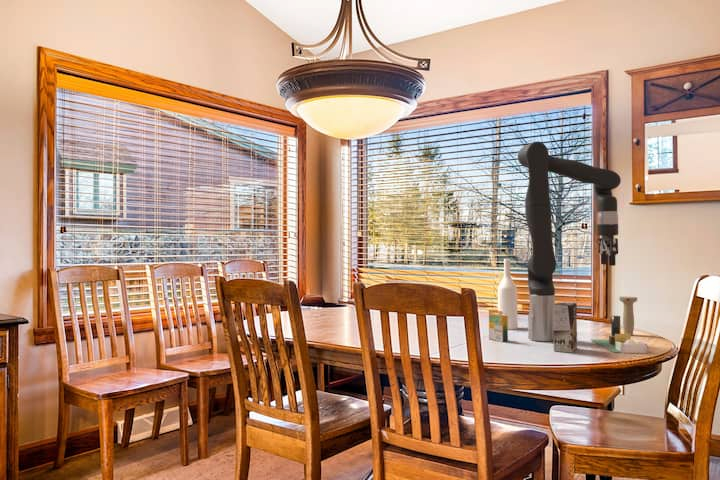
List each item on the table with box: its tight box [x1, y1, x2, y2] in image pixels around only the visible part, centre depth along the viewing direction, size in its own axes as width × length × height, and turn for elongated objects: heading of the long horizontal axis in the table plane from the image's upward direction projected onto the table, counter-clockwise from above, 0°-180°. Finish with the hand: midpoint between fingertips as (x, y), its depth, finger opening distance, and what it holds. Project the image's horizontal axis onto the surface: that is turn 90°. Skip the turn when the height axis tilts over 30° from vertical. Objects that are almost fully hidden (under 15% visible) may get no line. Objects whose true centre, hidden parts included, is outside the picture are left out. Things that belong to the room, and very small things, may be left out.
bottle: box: [497, 258, 519, 331], centre depth 234 cm, size 8×8×30 cm
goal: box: [616, 341, 648, 354], centre depth 184 cm, size 9×4×3 cm, turn 86°
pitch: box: [591, 339, 645, 354], centre depth 193 cm, size 11×22×1 cm, turn 176°
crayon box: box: [488, 309, 509, 343], centre depth 207 cm, size 7×3×12 cm, turn 31°
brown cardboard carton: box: [608, 335, 615, 345], centre depth 195 cm, size 6×2×3 cm, turn 86°
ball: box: [624, 338, 637, 344], centre depth 185 cm, size 4×4×4 cm
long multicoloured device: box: [610, 315, 632, 345], centre depth 195 cm, size 8×5×9 cm, turn 176°
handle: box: [618, 296, 638, 336], centre depth 215 cm, size 5×6×15 cm
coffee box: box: [553, 302, 578, 354], centre depth 188 cm, size 9×6×16 cm
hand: (608, 264), depth 210 cm, fingers open, 8 cm apart
